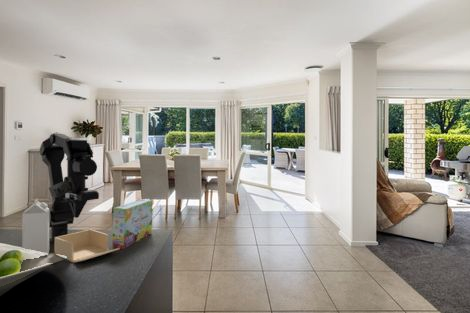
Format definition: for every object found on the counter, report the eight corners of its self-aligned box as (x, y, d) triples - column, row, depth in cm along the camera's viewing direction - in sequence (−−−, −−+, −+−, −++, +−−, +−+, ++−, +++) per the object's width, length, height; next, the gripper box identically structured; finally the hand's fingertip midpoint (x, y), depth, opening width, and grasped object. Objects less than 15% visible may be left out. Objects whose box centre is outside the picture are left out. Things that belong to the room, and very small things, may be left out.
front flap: (73, 261, 98) (82, 259, 94) (109, 250, 108) (119, 247, 105) (73, 263, 97) (83, 260, 94) (109, 251, 108) (119, 249, 105)
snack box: (125, 249, 111) (125, 208, 110) (111, 248, 112) (111, 207, 111) (152, 233, 132) (152, 198, 131) (140, 232, 133) (141, 198, 132)
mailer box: (54, 254, 104) (54, 237, 104) (90, 244, 115) (90, 229, 115) (71, 262, 98) (71, 243, 98) (108, 251, 109) (108, 234, 109)
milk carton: (22, 259, 99) (22, 202, 99) (25, 252, 106) (25, 198, 105) (47, 256, 103) (47, 200, 102) (49, 249, 109) (49, 197, 108)
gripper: (39, 173, 106) (39, 217, 107) (67, 177, 96) (67, 226, 96) (71, 171, 115) (71, 212, 116) (99, 174, 105) (99, 219, 105)
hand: (76, 217), depth 108 cm, fingers closed
